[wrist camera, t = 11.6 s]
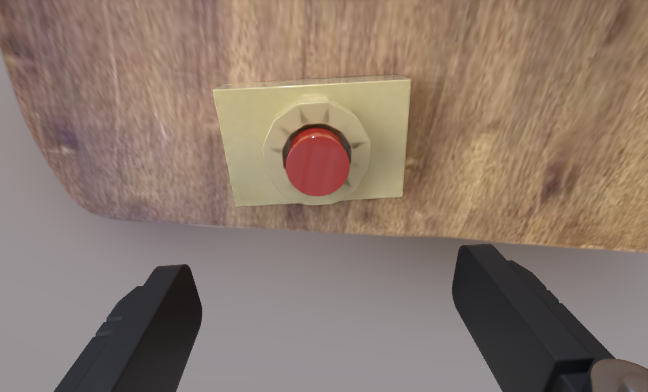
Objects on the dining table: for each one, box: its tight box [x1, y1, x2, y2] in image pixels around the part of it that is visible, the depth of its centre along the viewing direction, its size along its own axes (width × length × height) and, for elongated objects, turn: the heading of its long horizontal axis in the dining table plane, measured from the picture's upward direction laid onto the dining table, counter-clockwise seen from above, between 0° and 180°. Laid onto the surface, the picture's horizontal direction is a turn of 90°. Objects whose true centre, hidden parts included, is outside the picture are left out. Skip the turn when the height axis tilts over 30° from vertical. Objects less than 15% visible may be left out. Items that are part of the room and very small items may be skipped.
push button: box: [286, 127, 350, 196], centre depth 18 cm, size 4×4×2 cm
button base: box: [213, 75, 411, 207], centre depth 21 cm, size 12×8×5 cm, turn 93°
